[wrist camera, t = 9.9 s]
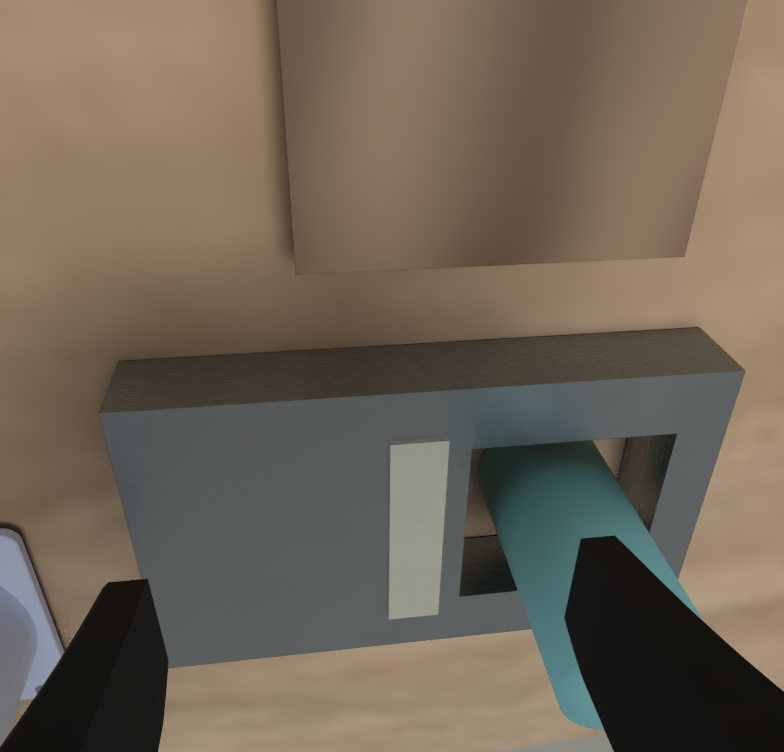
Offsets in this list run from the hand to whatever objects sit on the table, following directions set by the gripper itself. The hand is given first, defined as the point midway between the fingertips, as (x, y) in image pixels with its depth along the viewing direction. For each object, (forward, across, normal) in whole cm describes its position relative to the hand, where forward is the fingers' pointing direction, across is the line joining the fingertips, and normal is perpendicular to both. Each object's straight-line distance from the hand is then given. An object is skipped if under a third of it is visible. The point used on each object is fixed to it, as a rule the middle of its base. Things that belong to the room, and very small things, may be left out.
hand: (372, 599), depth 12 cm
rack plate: (+9, -2, +6) cm, 11 cm away
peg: (+9, -6, +6) cm, 13 cm away
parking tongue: (+9, -4, -6) cm, 12 cm away
